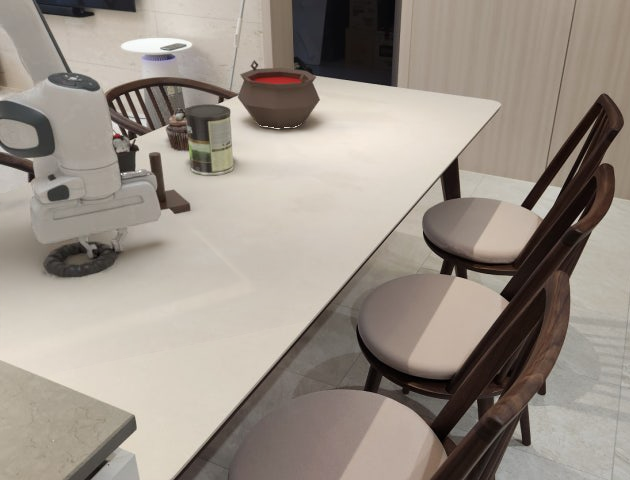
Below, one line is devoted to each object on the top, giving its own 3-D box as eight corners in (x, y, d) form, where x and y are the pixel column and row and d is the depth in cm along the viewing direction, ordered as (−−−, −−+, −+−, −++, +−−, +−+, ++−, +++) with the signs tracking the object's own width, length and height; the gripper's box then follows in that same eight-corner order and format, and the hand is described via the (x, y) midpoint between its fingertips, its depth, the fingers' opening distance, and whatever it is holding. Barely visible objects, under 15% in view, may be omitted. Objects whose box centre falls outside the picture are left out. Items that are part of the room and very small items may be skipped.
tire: (55, 290, 102) (51, 275, 101) (39, 262, 110) (36, 248, 108) (125, 273, 108) (123, 258, 106) (106, 247, 116) (103, 233, 114)
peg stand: (147, 219, 127) (139, 164, 121) (132, 203, 133) (124, 150, 127) (190, 210, 131) (184, 156, 126) (174, 195, 138) (168, 144, 132)
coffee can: (189, 176, 148) (183, 116, 141) (191, 161, 157) (185, 104, 150) (234, 175, 150) (230, 115, 143) (233, 160, 159) (230, 103, 152)
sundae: (106, 193, 137) (94, 124, 130) (134, 185, 142) (123, 118, 134) (122, 202, 134) (111, 132, 126) (150, 193, 138) (141, 125, 131)
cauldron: (336, 124, 190) (337, 67, 182) (275, 139, 175) (273, 79, 166) (283, 107, 204) (281, 54, 196) (222, 121, 188) (217, 63, 180)
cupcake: (197, 138, 173) (193, 101, 168) (211, 148, 166) (207, 110, 161) (162, 143, 168) (157, 105, 163) (175, 153, 161) (170, 114, 156)
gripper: (148, 161, 111) (158, 233, 118) (19, 182, 100) (38, 260, 107) (161, 173, 106) (170, 246, 113) (28, 196, 96) (47, 275, 103)
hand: (105, 253), depth 110 cm, fingers closed on tire, 3 cm apart
